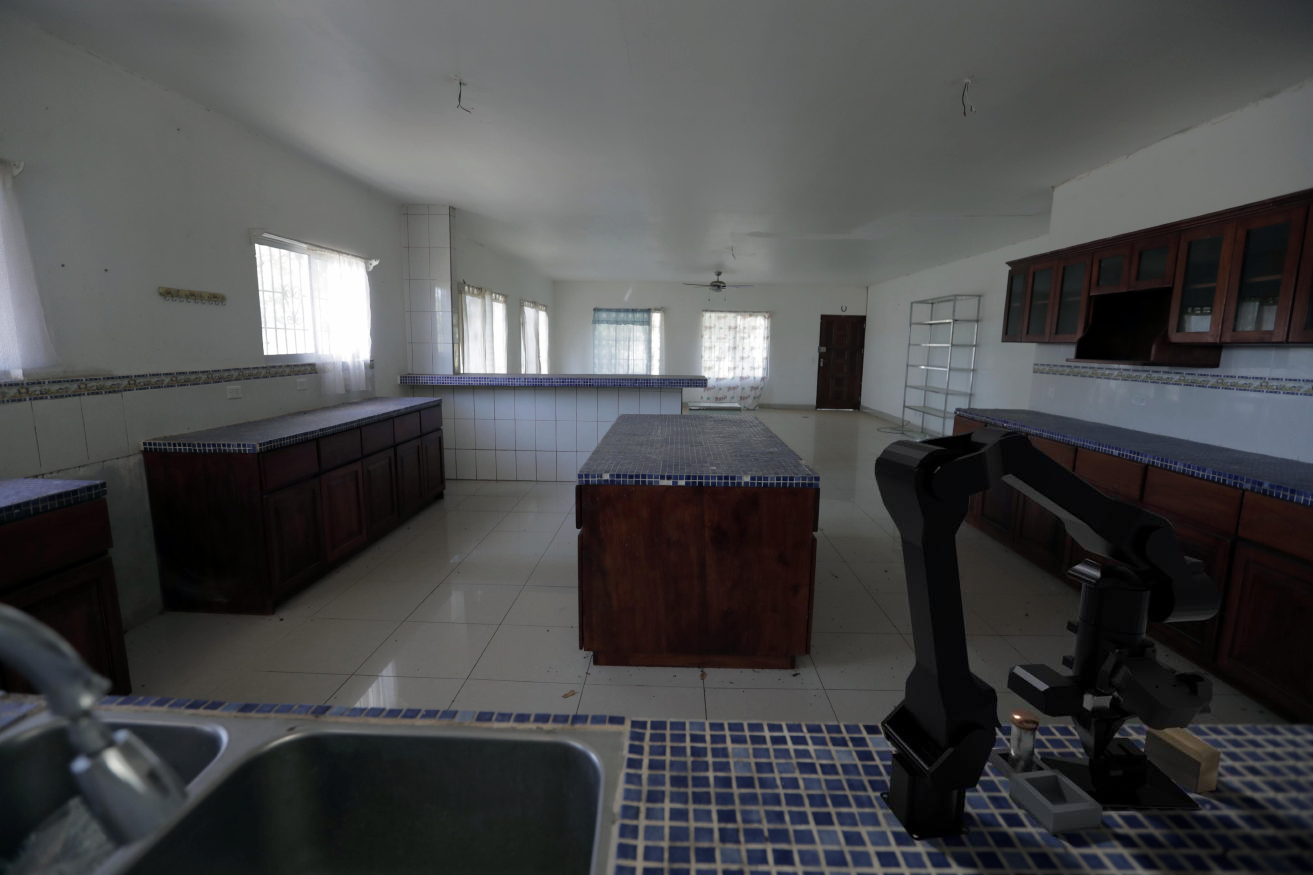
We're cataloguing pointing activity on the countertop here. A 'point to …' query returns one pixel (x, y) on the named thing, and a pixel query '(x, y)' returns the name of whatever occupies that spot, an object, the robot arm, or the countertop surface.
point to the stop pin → (1023, 740)
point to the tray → (1055, 801)
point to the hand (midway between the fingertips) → (1091, 757)
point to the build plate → (1122, 778)
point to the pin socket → (999, 761)
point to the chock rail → (1183, 758)
